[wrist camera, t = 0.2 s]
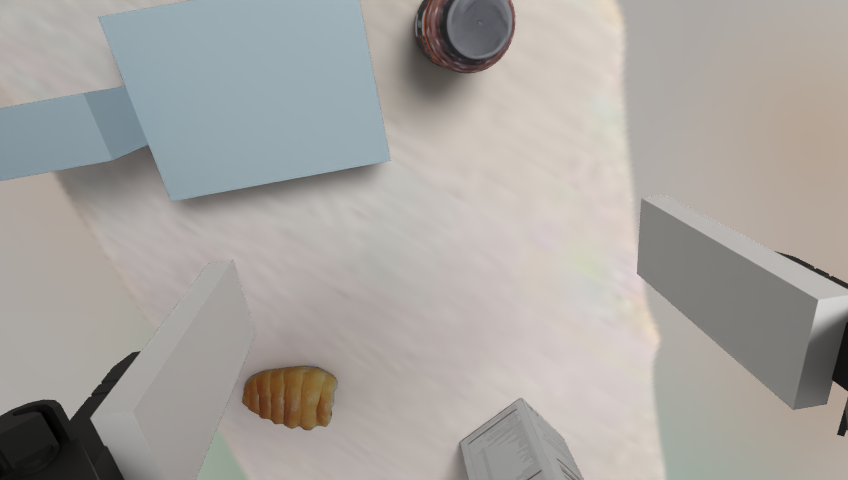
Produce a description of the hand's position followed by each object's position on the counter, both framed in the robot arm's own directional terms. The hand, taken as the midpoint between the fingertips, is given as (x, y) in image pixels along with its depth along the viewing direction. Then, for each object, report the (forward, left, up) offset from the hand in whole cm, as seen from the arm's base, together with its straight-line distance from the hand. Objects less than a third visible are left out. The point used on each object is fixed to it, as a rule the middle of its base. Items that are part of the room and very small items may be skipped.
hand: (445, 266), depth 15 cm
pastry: (+25, -16, -28) cm, 41 cm away
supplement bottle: (-7, +5, -28) cm, 29 cm away
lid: (-5, -13, -23) cm, 27 cm away
